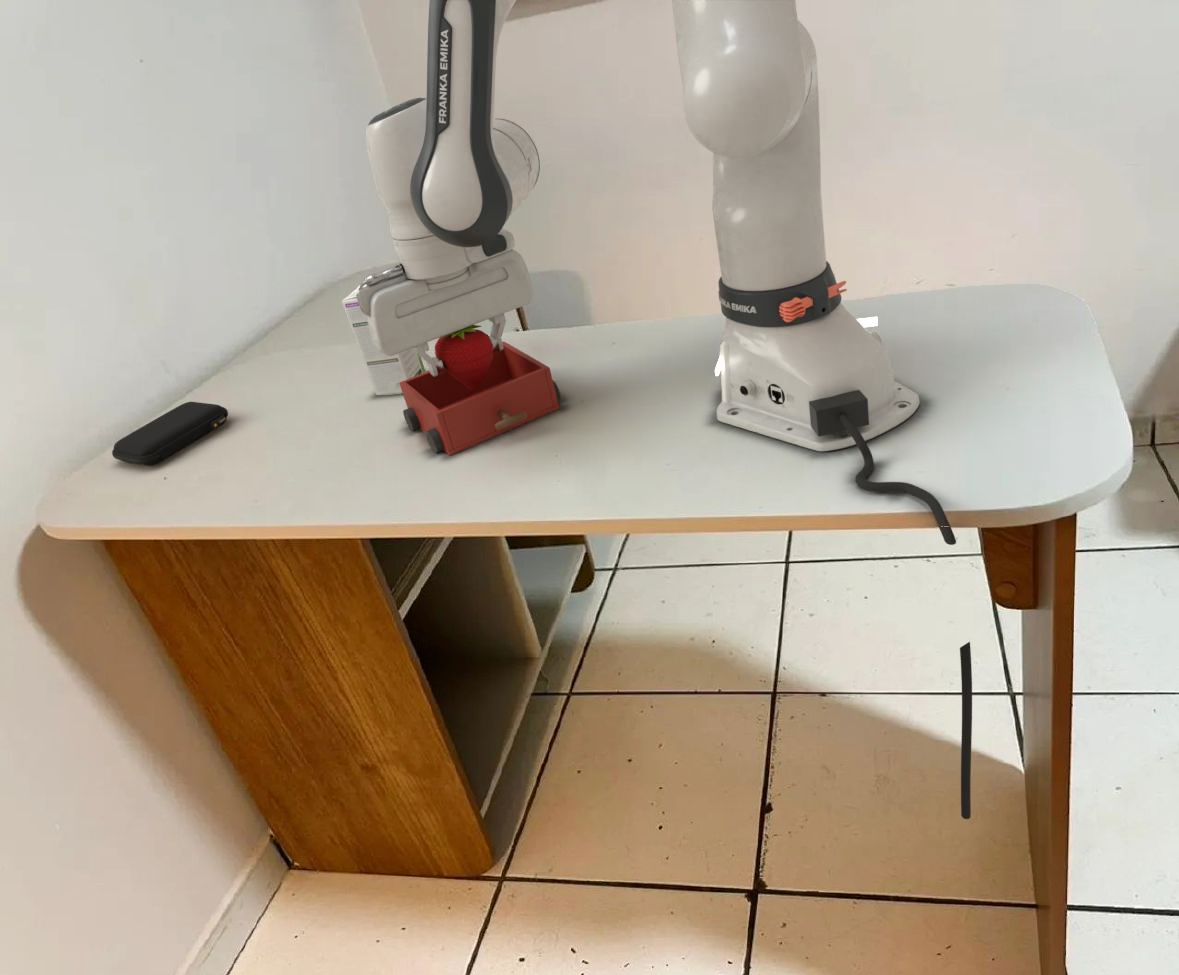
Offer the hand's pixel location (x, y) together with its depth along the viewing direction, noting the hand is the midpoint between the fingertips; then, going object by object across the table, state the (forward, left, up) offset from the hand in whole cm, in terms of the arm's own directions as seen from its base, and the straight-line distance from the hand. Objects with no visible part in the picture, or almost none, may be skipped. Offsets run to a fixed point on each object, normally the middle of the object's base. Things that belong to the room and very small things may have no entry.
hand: (467, 361), depth 115 cm
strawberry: (0, 0, -4) cm, 4 cm away
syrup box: (+19, +4, -8) cm, 21 cm away
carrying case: (+30, +34, -8) cm, 47 cm away
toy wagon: (-2, 0, -7) cm, 8 cm away
